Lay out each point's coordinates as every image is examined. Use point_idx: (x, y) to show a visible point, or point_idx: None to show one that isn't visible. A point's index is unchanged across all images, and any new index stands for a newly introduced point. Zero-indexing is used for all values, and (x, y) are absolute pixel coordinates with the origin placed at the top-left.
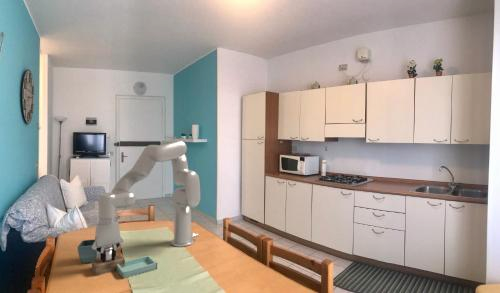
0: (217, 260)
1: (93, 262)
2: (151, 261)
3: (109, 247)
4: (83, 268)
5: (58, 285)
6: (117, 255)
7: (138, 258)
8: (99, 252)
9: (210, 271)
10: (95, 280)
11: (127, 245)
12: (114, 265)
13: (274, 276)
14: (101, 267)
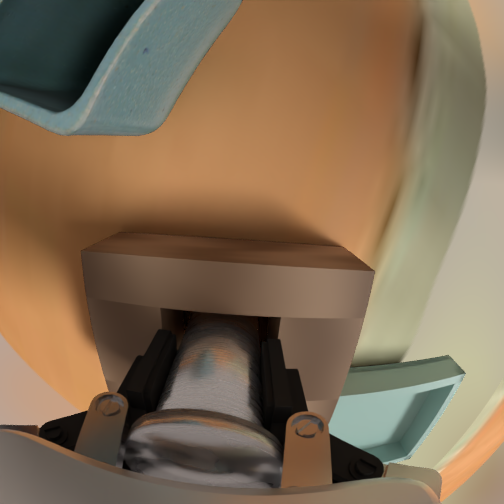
0: (496, 428)
1: (93, 326)
2: (424, 421)
3: (218, 485)
4: (77, 192)
5: (5, 323)
6: (333, 320)
7: (412, 393)
8: (227, 22)
9: (442, 471)
10: None
11: (454, 19)
12: None
13: (454, 488)
14: None
